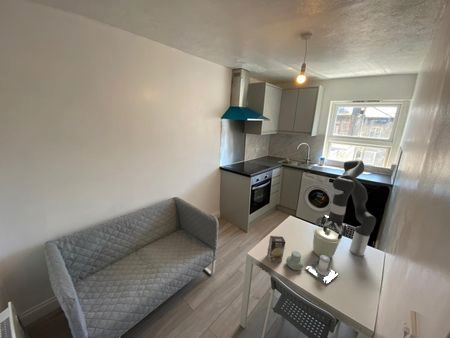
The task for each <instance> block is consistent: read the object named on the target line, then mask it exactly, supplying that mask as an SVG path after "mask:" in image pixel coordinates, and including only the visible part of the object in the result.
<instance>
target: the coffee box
mask: <svg viewBox="0 0 450 338" xmlns="http://www.w3.org/2000/svg"><path fill="white" fill-rule="evenodd" d="M285 245H286V240H285V238H284V237H283V236H278V235H270V236H269V241H268V247H267V253H266V255H267V259H268V261H269V262H279V263H280V262H283V256H284V251H285V247H286V246H285Z"/></svg>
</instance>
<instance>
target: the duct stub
mask: <svg viewBox="0 0 450 338" xmlns="http://www.w3.org/2000/svg"><path fill="white" fill-rule="evenodd" d="M318 261H319V266H318V270H319V271H320V272H322V273H326V271H327V267H328V268H329V263H330V261H331V258H330V259H329V258H328V257H327V256H325V255H321V256H320V257H319V260H318Z"/></svg>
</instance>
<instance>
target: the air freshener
mask: <svg viewBox="0 0 450 338" xmlns="http://www.w3.org/2000/svg"><path fill="white" fill-rule="evenodd" d="M301 258H302V253H300V252H299V251H296V250H294V251H292V252H291V254H290V255H289V256H287V257H286V260H285V263H286V265H287V266H288V267H289V268H290V269H292V270H294V271H301V270H302V269H303V268H304V261H303V260H302V259H301Z"/></svg>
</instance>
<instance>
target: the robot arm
mask: <svg viewBox="0 0 450 338" xmlns="http://www.w3.org/2000/svg"><path fill="white" fill-rule="evenodd" d="M343 169H344V172H343V173H342V175H339V176H337V177H336V178H334V180H333V181H332V187H333V188H334V190H338V191H340V192H341V191H342V192H343V193H338V192H337V193H335V194H333V198H332V203H331V206H330V209H329V212H328V213H329V214H328V215H327V214H324V215H323V216H322V218H321V225H322V226H323V227H322V228H323V230H324V232H326V231H327V229H328V226H331V227H333V228H335V229H336V230H337V232H338V239H341V240H342V238H343V236H345V235H347V234H348V230H349V224H348V223H346V224H345V223H343V222H344V218H345V214H346V209H347V204H348V200H349V197H350V195H351V197H352V201H353V202H352V203H353V205H354V209H355V210H354V211H355V212H354V213H355V218H356V220H357V222H359V223H360V224H361V225H359V226H358V225H357V226H356V227H355V228H354V232H353V237H352V239H351V243H350V247H349V251H350V253H352V254H353V255H355V256H358V257H363V256H364V255H365V252H366V249H367V246H368V244H369V243H368V242H369V239H370V236H371V234H372V233H373V232H374V231H373V230H374V228H375V227H376V226H375V225H376V223H377V218H376V217H375V216H374V215H372V213H370V212H369V211H368V210H367V208H366V203H367V201H368V198H369V195H368V192H367V191H368V190H367V189H366V187H365V186H364V185H363V184H362V183H361V182H360V181H359V180H357V178H358V177H359V176H360V175H362V174H363V173H364V171H365V164H364V162H363V161H362V160H361V159H357V160H356V159H355V160H346V161H344V163H343ZM326 221H328V222H326Z"/></svg>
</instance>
